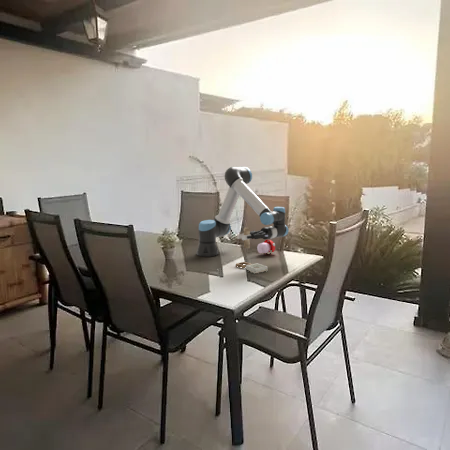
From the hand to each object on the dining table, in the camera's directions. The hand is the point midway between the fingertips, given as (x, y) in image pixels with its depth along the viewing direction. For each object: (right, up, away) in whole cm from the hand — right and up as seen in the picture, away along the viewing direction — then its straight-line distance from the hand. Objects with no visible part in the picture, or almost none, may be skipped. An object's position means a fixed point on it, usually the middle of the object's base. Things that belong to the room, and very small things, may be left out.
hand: (240, 237), depth 232 cm
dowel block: (+3, -18, +8) cm, 20 cm away
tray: (+10, -20, -1) cm, 22 cm away
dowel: (+4, -6, +4) cm, 9 cm away
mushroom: (+15, -9, +36) cm, 39 cm away
